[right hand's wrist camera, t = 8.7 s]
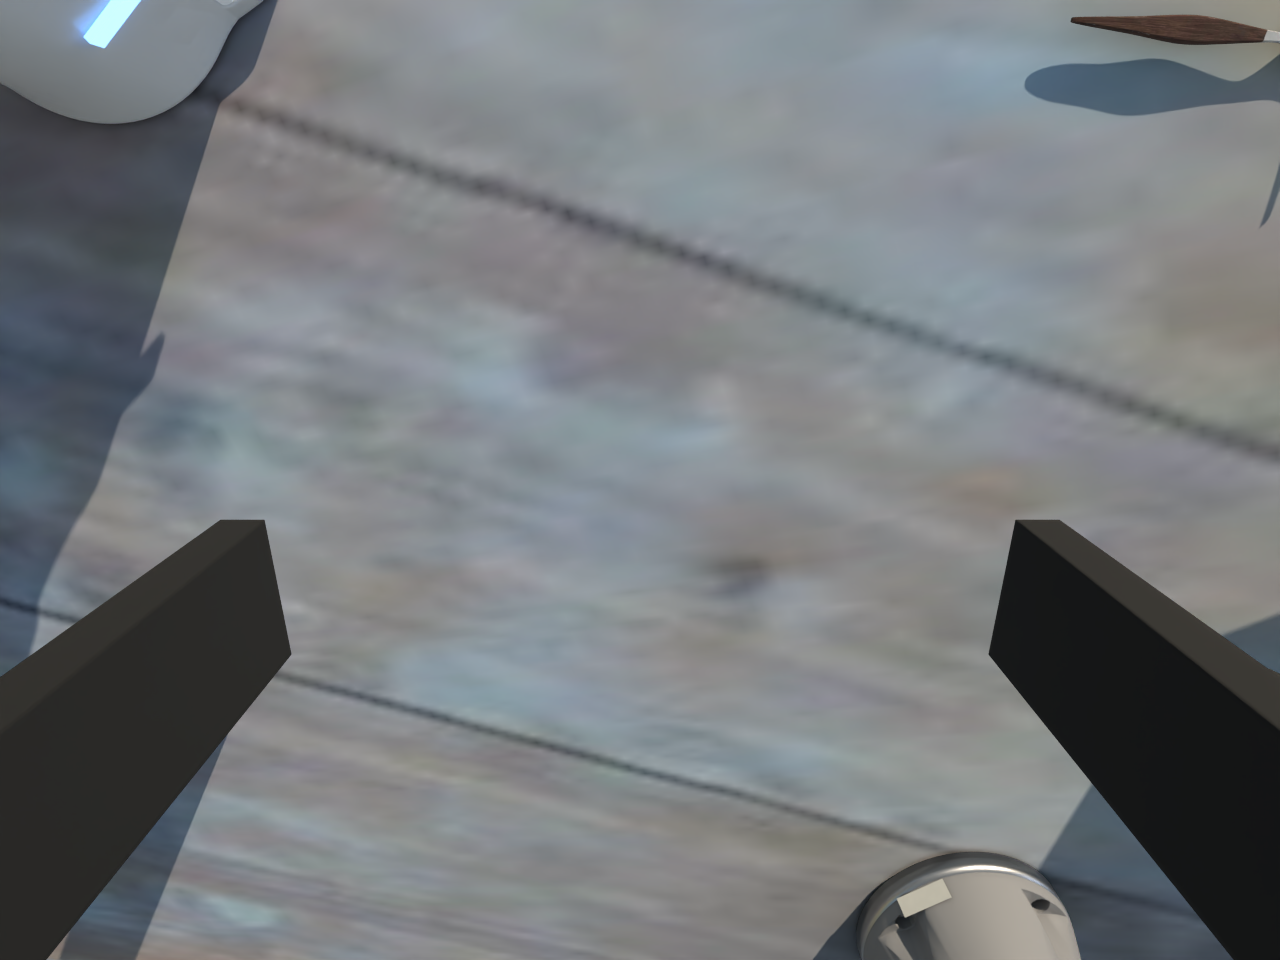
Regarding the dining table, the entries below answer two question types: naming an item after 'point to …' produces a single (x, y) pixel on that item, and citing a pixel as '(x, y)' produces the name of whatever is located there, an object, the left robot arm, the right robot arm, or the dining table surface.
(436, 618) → the dining table surface
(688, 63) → the dining table surface
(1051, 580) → the right robot arm
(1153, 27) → the fork
